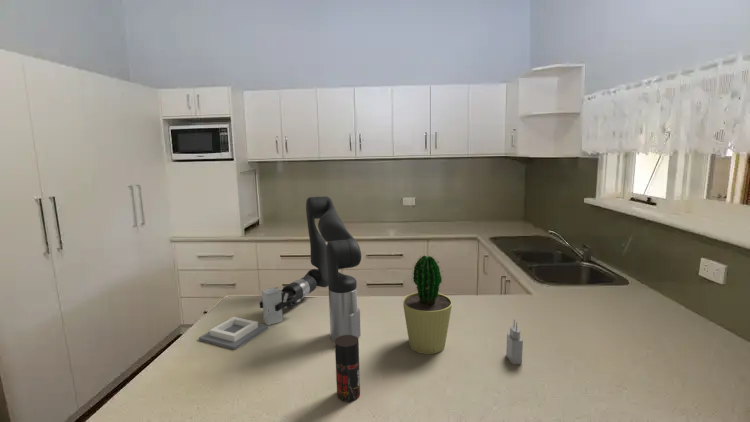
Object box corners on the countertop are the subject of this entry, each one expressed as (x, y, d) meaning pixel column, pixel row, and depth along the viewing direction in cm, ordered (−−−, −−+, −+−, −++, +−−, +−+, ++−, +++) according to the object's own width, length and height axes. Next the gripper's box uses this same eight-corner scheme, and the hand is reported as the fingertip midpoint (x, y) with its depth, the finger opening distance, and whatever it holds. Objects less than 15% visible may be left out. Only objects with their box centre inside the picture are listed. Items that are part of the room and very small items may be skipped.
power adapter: (515, 353, 117) (517, 316, 115) (522, 363, 111) (524, 325, 109) (505, 354, 116) (506, 317, 114) (512, 364, 111) (513, 325, 109)
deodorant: (337, 388, 102) (335, 335, 99) (359, 386, 102) (358, 334, 100) (336, 403, 96) (334, 347, 93) (360, 401, 96) (359, 345, 94)
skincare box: (267, 325, 138) (264, 293, 136) (263, 321, 142) (260, 290, 140) (283, 321, 142) (281, 290, 139) (279, 317, 145) (277, 286, 143)
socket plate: (268, 328, 136) (268, 320, 136) (234, 350, 122) (234, 341, 122) (234, 320, 143) (234, 312, 143) (199, 340, 129) (198, 331, 128)
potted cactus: (461, 343, 123) (462, 252, 118) (433, 363, 112) (434, 264, 107) (422, 328, 134) (422, 244, 129) (393, 345, 123) (392, 255, 118)
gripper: (281, 279, 156) (251, 294, 141) (310, 284, 150) (283, 300, 135) (282, 297, 157) (253, 313, 142) (311, 302, 151) (284, 320, 136)
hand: (268, 307), depth 139 cm, fingers closed on skincare box, 6 cm apart
